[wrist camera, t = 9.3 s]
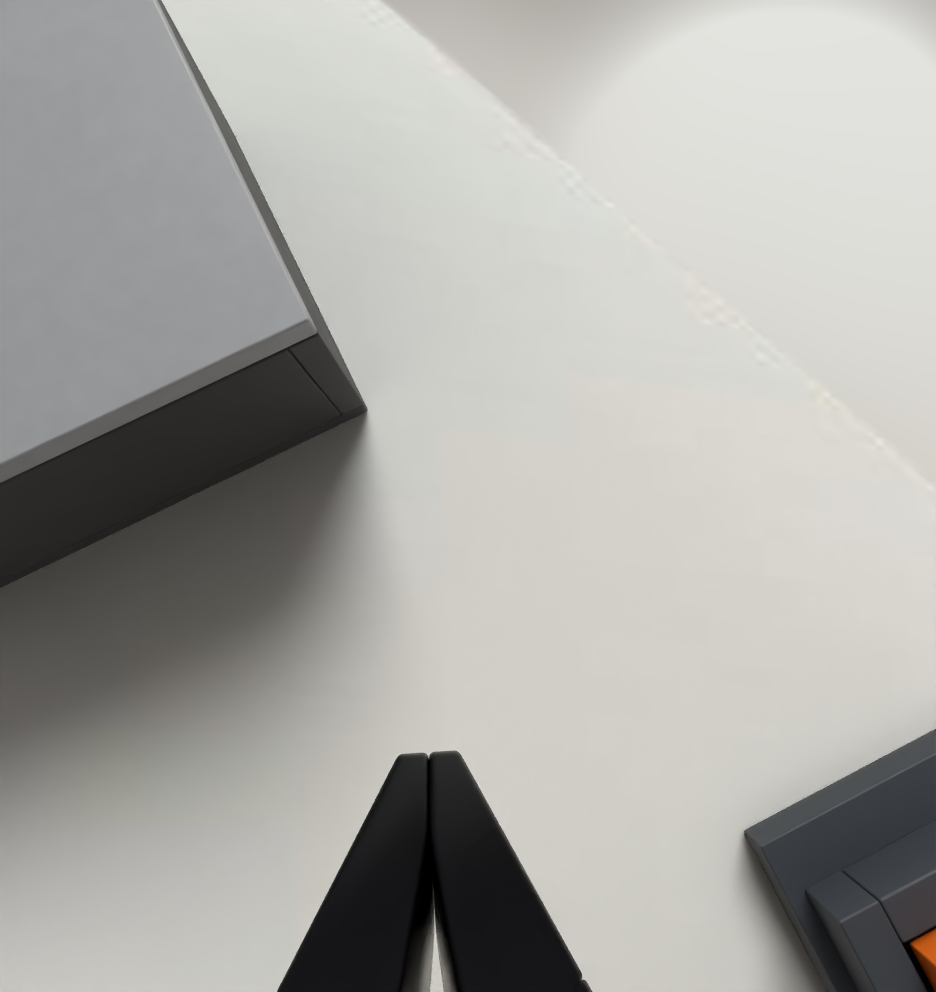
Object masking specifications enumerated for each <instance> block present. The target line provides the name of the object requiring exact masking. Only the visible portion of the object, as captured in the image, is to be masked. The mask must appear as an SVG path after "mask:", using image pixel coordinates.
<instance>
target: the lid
mask: <svg viewBox="0 0 936 992" xmlns="http://www.w3.org/2000/svg"><path fill="white" fill-rule="evenodd" d="M316 333H317V329H316V327H315V325H314V323H313V321H312V319H311V317H310V315H309V313H308V310H307V308H306V306H305V304H304V302H303V300H302V298H301V296H300V294H299V292H298V290H297V288H296V286H295V284H294V281H293V279H292V277H291V275H290V273H289V271H288V269H287V267H286V265H285V263H284V261H283V259H282V257H281V255H280V253H279V250H278V248H277V246H276V244H275V242H274V240H273V238H272V236H271V234H270V232H269V230H268V228H267V226H266V224H265V221H264V219H263V217H262V215H261V213H260V211H259V209H258V207H257V205H256V203H255V201H254V199H253V197H252V195H251V192H250V190H249V188H248V186H247V184H246V182H245V180H244V178H243V176H242V174H241V172H240V170H239V168H238V166H237V163H236V161H235V159H234V157H233V155H232V153H231V151H230V149H229V147H228V145H227V143H226V141H225V139H224V137H223V134H222V132H221V130H220V128H219V126H218V124H217V122H216V120H215V118H214V116H213V114H212V112H211V110H210V108H209V105H208V103H207V101H206V99H205V97H204V95H203V93H202V91H201V89H200V87H199V85H198V83H197V81H196V79H195V76H194V74H193V72H192V70H191V68H190V66H189V64H188V62H187V60H186V58H185V56H184V54H183V52H182V50H181V48H180V45H179V43H178V41H177V39H176V37H175V35H174V33H173V31H172V29H171V27H170V25H169V23H168V21H167V19H166V16H165V14H164V12H163V10H162V8H161V6H160V4H159V2H158V0H0V483H1V482H3V481H5V480H7V479H9V478H12V477H14V476H16V475H18V474H20V473H22V472H24V471H26V470H28V469H31V468H33V467H35V466H37V465H39V464H41V463H43V462H45V461H48V460H50V459H52V458H54V457H56V456H58V455H60V454H62V453H64V452H67V451H69V450H71V449H73V448H75V447H77V446H79V445H81V444H83V443H86V442H88V441H90V440H92V439H94V438H96V437H98V436H100V435H103V434H105V433H107V432H109V431H111V430H113V429H115V428H117V427H119V426H122V425H124V424H126V423H128V422H130V421H132V420H134V419H136V418H138V417H141V416H143V415H145V414H147V413H149V412H151V411H153V410H155V409H158V408H160V407H162V406H164V405H166V404H168V403H170V402H172V401H174V400H177V399H179V398H181V397H183V396H185V395H187V394H189V393H191V392H193V391H196V390H198V389H200V388H202V387H204V386H206V385H208V384H210V383H213V382H215V381H217V380H219V379H221V378H223V377H225V376H227V375H229V374H232V373H234V372H236V371H238V370H240V369H242V368H244V367H246V366H248V365H251V364H253V363H255V362H257V361H259V360H261V359H263V358H265V357H268V356H270V355H272V354H274V353H276V352H278V351H280V350H282V349H284V348H287V347H289V346H291V345H293V344H295V343H297V342H299V341H301V340H303V339H306V338H308V337H310V336H312V335H314V334H316Z"/></svg>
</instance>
